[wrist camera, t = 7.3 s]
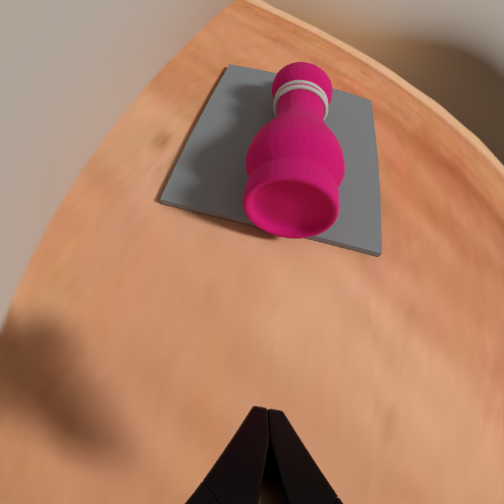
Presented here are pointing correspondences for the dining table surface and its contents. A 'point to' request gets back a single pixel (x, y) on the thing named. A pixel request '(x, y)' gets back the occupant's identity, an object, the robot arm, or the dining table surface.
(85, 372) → the dining table surface
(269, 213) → the pepper mill
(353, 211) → the mat
